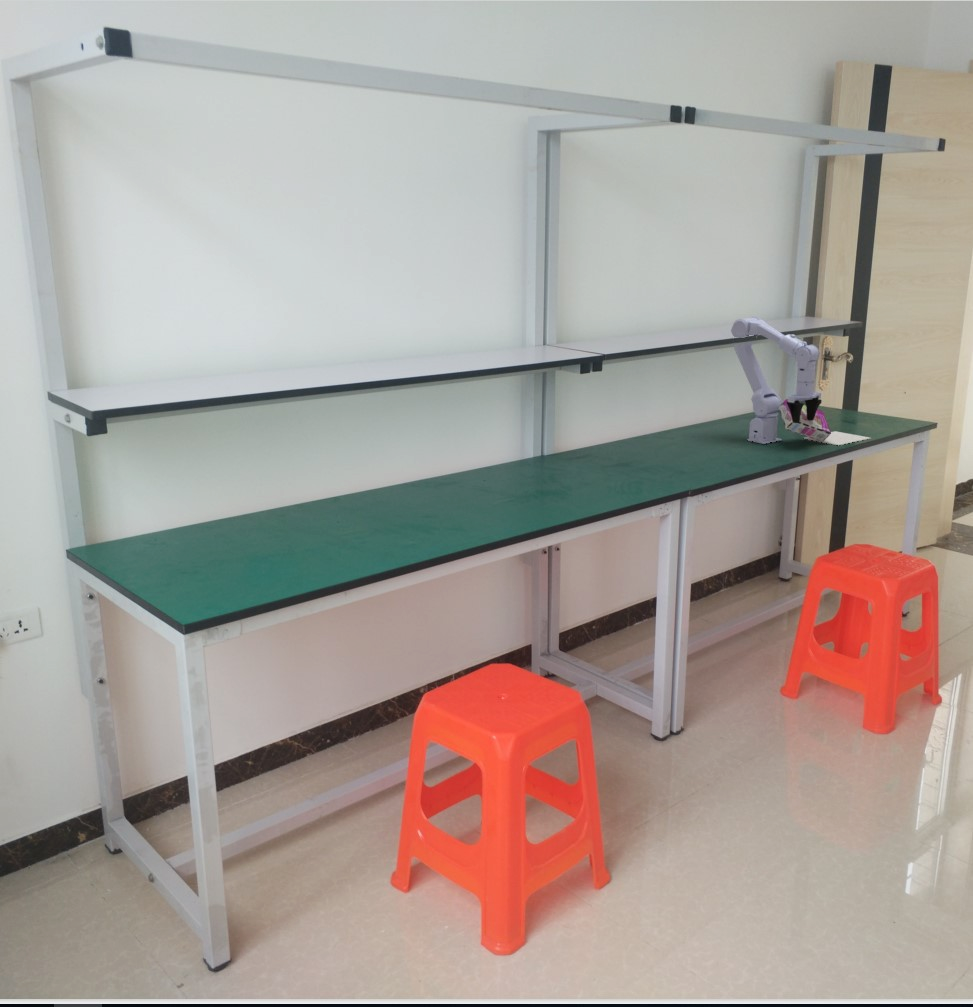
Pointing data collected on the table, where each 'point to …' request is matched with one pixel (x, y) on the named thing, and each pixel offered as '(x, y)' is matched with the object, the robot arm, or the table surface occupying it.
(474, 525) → the table surface
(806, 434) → the candy bar box
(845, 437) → the mat
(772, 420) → the robot arm
